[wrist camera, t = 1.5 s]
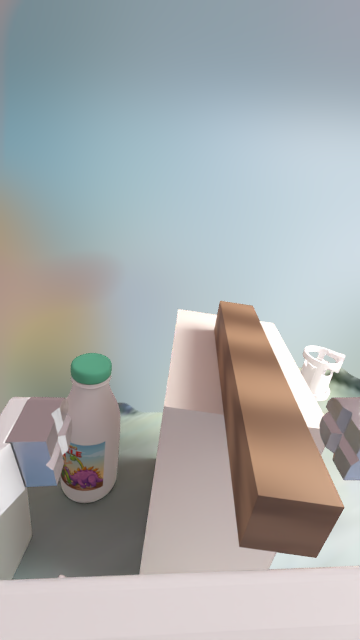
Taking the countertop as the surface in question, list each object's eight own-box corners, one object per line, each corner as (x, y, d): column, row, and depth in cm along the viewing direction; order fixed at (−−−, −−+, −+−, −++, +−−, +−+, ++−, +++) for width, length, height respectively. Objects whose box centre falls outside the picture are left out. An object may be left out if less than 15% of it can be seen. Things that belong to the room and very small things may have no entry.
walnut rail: (316, 557, 14) (344, 507, 12) (239, 547, 14) (258, 495, 12) (245, 334, 34) (252, 305, 32) (214, 330, 34) (220, 300, 32)
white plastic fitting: (318, 427, 60) (345, 364, 54) (282, 413, 63) (304, 351, 57) (320, 407, 66) (344, 348, 60) (287, 395, 69) (307, 337, 62)
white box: (247, 614, 32) (332, 430, 21) (135, 599, 32) (164, 406, 21) (230, 468, 49) (273, 323, 38) (156, 458, 48) (178, 309, 38)
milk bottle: (90, 448, 48) (92, 339, 40) (127, 475, 45) (138, 361, 37) (48, 483, 42) (40, 362, 34) (87, 517, 39) (90, 391, 31)
